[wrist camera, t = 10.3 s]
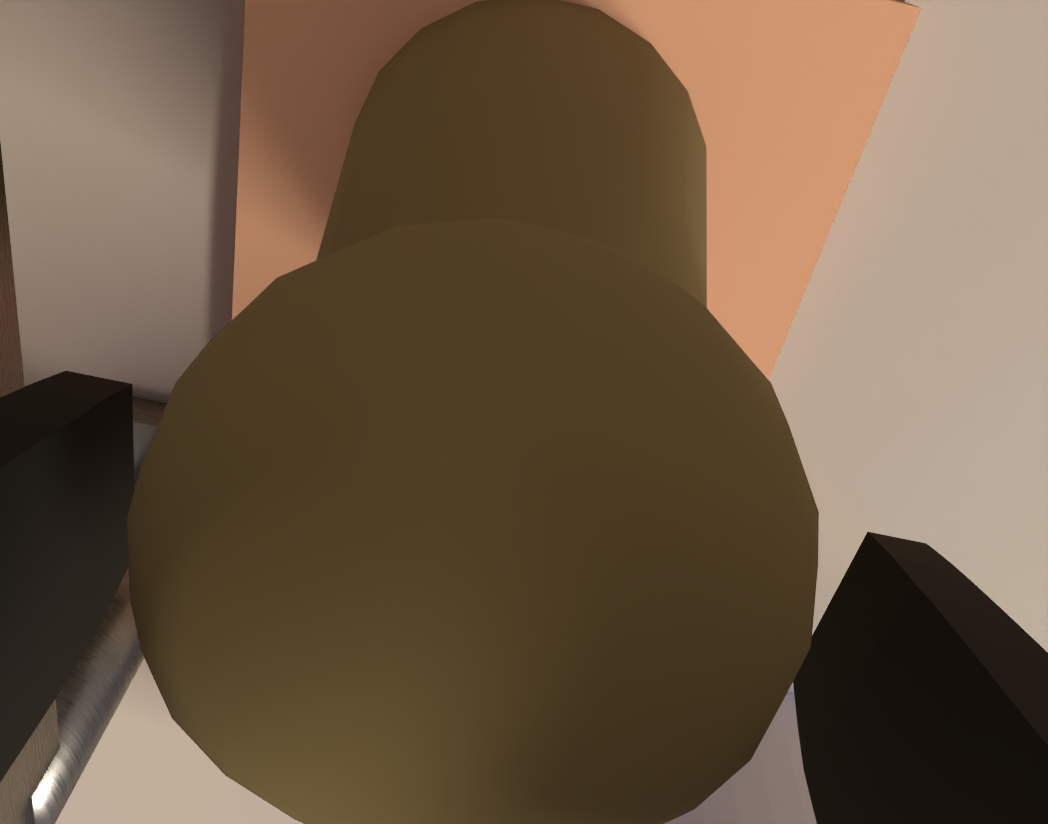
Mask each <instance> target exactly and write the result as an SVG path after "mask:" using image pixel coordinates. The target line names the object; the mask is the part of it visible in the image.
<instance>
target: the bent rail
mask: <svg viewBox="0 0 1048 824" xmlns="http://www.w3.org/2000/svg"><path fill="white" fill-rule="evenodd" d="M23 387H24V376H23V366H22V356H21V346H20V336H19V326H18V316H17V306H16V296H15V286H14V275H13V265H12V255H11V245H10V235H9V225H8V215H7V205H6V195H5V184H4V174H3V164H2V154H1V144H0V397H2V396H5V395H7V394H9V393H12V392H14V391H16V390H19V389H21V388H23ZM132 400H133V443H134V485H135V486H136V482H137V478H138V474H139V471H140V467H141V464H142V461H143V459H144V457H145V454H146V452H147V450H148V447H149V445H150V443H151V440H152V438H153V436H154V433H155V431H156V429H157V426H158V424H159V422H160V419H161V417H162V415H163V412H164V410H165V407H166V405H167V404H162V403H157V402H152V401H147V400H142V399H137V398H132ZM143 659H144V655H143V653H142V651H141V647H140V643H139V638H138V634H137V629H136V625H135V620H134V616H133V612H132V607H131V603H130V593H129V566H128V569H127V571H126V573H125V575H124V577H123V579H122V581H121V584H120V586H119V588H118V590H117V592H116V594H115V596H114V599H113V601H112V603H111V605H110V607H109V609H108V611H107V613H106V615H105V617H104V619H103V621H102V623H101V625H100V627H99V629H98V631H97V633H96V635H95V637H94V639H93V641H92V642H91V644H90V646H89V647H88V649H87V650H86V652H85V653H84V655H83V657H82V658H81V660H80V661H79V663H78V665H77V666H76V668H75V669H74V671H73V672H72V674H71V675H70V677H69V678H68V680H67V681H66V683H65V685H64V686H63V688H62V689H61V691H60V692H59V694H58V695H57V697H56V698H55V700H54V702H53V703H52V705H51V706H50V708H49V709H48V711H47V712H46V714H45V715H44V717H43V718H42V720H41V722H40V723H39V725H38V726H37V728H36V729H35V731H34V732H33V734H32V735H31V737H30V738H29V740H28V741H27V743H26V744H25V746H24V747H23V749H22V750H21V752H20V753H19V755H18V756H17V758H16V759H15V761H14V763H13V764H12V766H11V767H10V769H9V770H8V772H7V773H6V775H5V776H4V778H3V779H2V781H1V782H0V824H55V822H56V820H57V819H58V817H59V815H60V813H61V811H62V809H63V807H64V806H65V804H66V802H67V800H68V798H69V796H70V794H71V793H72V791H73V789H74V787H75V785H76V783H77V781H78V780H79V778H80V776H81V774H82V772H83V770H84V768H85V767H86V765H87V763H88V761H89V759H90V757H91V755H92V754H93V752H94V750H95V748H96V746H97V744H98V742H99V741H100V739H101V737H102V735H103V733H104V731H105V729H106V728H107V726H108V724H109V722H110V720H111V718H112V716H113V715H114V713H115V711H116V709H117V707H118V705H119V703H120V702H121V700H122V698H123V696H124V694H125V692H126V690H127V689H128V687H129V685H130V683H131V681H132V679H133V677H134V676H135V674H136V672H137V670H138V668H139V666H140V664H141V663H142V661H143Z"/></svg>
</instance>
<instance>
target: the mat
mask: <svg viewBox="0 0 1048 824" xmlns="http://www.w3.org/2000/svg"><path fill="white" fill-rule="evenodd" d="M476 1H485V0H245V18H244V42H243V65H242V89H241V113H240V137H239V161H238V185H237V208H236V232H235V256H234V280H233V304H232V320H233V319H234V318H235V317H236V316H237V315H238V314H239V313H240V312H241V311H242V310H243V309H244V308H246V307H247V306H248V305H249V304H250V303H251V302H252V301H253V300H254V299H255V298H256V297H257V296H258V295H259V294H260V293H261V292H262V291H263V290H264V289H265V288H266V287H268V286H269V285H270V284H271V283H272V282H273V281H274V280H275V279H276V278H277V277H280V276H282V275H284V274H286V273H289V272H291V271H293V270H296V269H298V268H300V267H302V266H305V265H307V264H309V263H312V262H314V261H316V259H317V256H318V252H319V248H320V245H321V241H322V238H323V234H324V231H325V227H326V224H327V220H328V216H329V213H330V209H331V206H332V202H333V199H334V195H335V191H336V188H337V184H338V181H339V177H340V174H341V170H342V167H343V163H344V159H345V156H346V152H347V149H348V145H349V142H350V138H351V134H352V131H353V127H354V124H355V122H356V119H357V117H358V115H359V113H360V111H361V109H362V107H363V104H364V102H365V100H366V98H367V96H368V94H369V92H370V89H371V87H372V85H373V83H374V81H375V79H376V77H377V74H378V72H379V71H380V70H381V69H382V68H383V67H384V66H385V65H386V64H387V63H388V61H389V60H390V59H391V58H392V57H393V56H394V55H395V54H396V53H397V52H398V51H399V50H400V49H401V48H402V47H403V46H404V45H405V44H406V43H407V42H408V41H409V40H410V39H411V38H412V37H413V36H414V35H415V34H416V33H417V32H418V31H419V30H420V29H421V28H423V27H425V26H427V25H429V24H431V23H433V22H435V21H437V20H439V19H441V18H443V17H445V16H447V15H449V14H451V13H453V12H455V11H458V10H460V9H462V8H464V7H466V6H468V5H470V4H472V3H474V2H476ZM562 1H566V2H570V3H574V4H579V5H583V6H587V7H591V8H595V9H599V10H601V11H602V12H604V13H605V14H607V15H608V16H610V17H611V18H613V19H614V20H616V21H617V22H619V23H621V24H622V25H624V26H625V27H627V28H628V29H630V30H631V31H633V32H634V33H636V34H637V35H639V36H641V37H642V38H644V39H645V40H647V41H648V42H650V43H651V44H652V45H653V47H654V48H655V49H656V51H657V52H658V53H659V54H660V56H661V57H662V58H663V60H664V61H665V62H666V64H667V65H668V66H669V67H670V69H671V70H672V71H673V73H674V74H675V75H676V76H677V78H678V79H679V80H680V82H681V83H682V84H683V86H684V87H685V88H686V89H687V91H688V93H689V96H690V99H691V102H692V105H693V108H694V111H695V114H696V117H697V120H698V123H699V126H700V129H701V132H702V135H703V138H704V141H705V144H706V174H707V309H708V310H709V311H710V313H711V314H712V315H713V316H714V317H715V318H716V319H717V321H718V322H719V323H720V324H721V325H722V326H723V328H724V329H725V330H726V331H727V332H728V333H729V335H730V336H731V337H732V338H733V339H734V340H735V342H736V343H737V344H738V345H739V346H740V347H741V349H742V350H743V351H744V352H745V353H746V354H747V356H748V357H749V358H750V359H751V360H752V361H753V363H754V364H755V365H756V366H757V367H758V368H759V370H760V371H761V372H762V373H763V374H764V375H765V377H766V378H767V379H768V380H769V377H770V375H771V372H772V370H773V367H774V365H775V362H776V360H777V358H778V355H779V353H780V350H781V348H782V345H783V343H784V341H785V338H786V336H787V333H788V331H789V328H790V326H791V324H792V321H793V319H794V316H795V314H796V311H797V309H798V307H799V304H800V302H801V299H802V297H803V294H804V292H805V290H806V287H807V285H808V282H809V280H810V277H811V275H812V273H813V270H814V268H815V265H816V263H817V260H818V258H819V256H820V253H821V251H822V248H823V246H824V243H825V241H826V239H827V236H828V234H829V231H830V229H831V226H832V224H833V222H834V219H835V217H836V214H837V212H838V209H839V207H840V205H841V202H842V200H843V197H844V195H845V192H846V190H847V188H848V185H849V183H850V180H851V178H852V175H853V173H854V171H855V168H856V166H857V163H858V161H859V158H860V156H861V154H862V151H863V149H864V146H865V144H866V141H867V139H868V137H869V134H870V132H871V129H872V127H873V124H874V122H875V120H876V117H877V115H878V112H879V110H880V107H881V105H882V103H883V100H884V98H885V95H886V93H887V90H888V88H889V86H890V83H891V81H892V78H893V76H894V73H895V71H896V69H897V66H898V64H899V61H900V59H901V56H902V54H903V52H904V49H905V47H906V44H907V42H908V39H909V37H910V35H911V32H912V30H913V27H914V25H915V22H916V20H917V18H918V15H919V13H920V10H921V8H920V7H917V6H915V5H912V4H910V3H907V2H903V1H898V0H562Z"/></svg>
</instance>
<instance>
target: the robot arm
mask: <svg viewBox="0 0 1048 824" xmlns="http://www.w3.org/2000/svg"><path fill="white" fill-rule="evenodd" d="M134 490H135V485H134V443H133V400H132V384H129V383H124V382H119V381H114V380H109V379H104V378H99V377H94V376H89V375H84V374H79V373H74V372H69V371H65V372H62V373H59V374H57V375H54V376H51V377H48V378H46V379H43V380H40V381H38V382H35V383H33V384H31V385H28V386H26V387H23V388H21V389H19V390H16V391H14V392H12V393H9V394H7V395H5V396H2V397H0V782H1V781H2V779H3V778H4V776H5V775H6V773H7V772H8V770H9V769H10V767H11V766H12V764H13V763H14V761H15V759H16V758H17V756H18V755H19V753H20V752H21V750H22V749H23V747H24V746H25V744H26V743H27V741H28V740H29V738H30V737H31V735H32V734H33V732H34V731H35V729H36V728H37V726H38V725H39V723H40V722H41V720H42V718H43V717H44V715H45V714H46V712H47V711H48V709H49V708H50V706H51V705H52V703H53V702H54V700H55V698H56V697H57V695H58V694H59V692H60V691H61V689H62V688H63V686H64V685H65V683H66V681H67V680H68V678H69V677H70V675H71V674H72V672H73V671H74V669H75V668H76V666H77V665H78V663H79V661H80V660H81V658H82V657H83V655H84V653H85V652H86V650H87V649H88V647H89V646H90V644H91V642H92V641H93V639H94V637H95V635H96V633H97V631H98V629H99V627H100V625H101V623H102V621H103V619H104V617H105V615H106V613H107V611H108V609H109V607H110V605H111V603H112V601H113V599H114V596H115V594H116V592H117V590H118V588H119V586H120V584H121V581H122V579H123V577H124V575H125V573H126V571H127V569H128V566H129V559H128V525H127V516H128V513H129V509H130V505H131V501H132V497H133V493H134ZM665 824H1048V653H1047V652H1046V651H1045V650H1044V649H1043V648H1042V647H1041V646H1040V645H1039V644H1038V643H1037V642H1036V641H1035V640H1034V639H1033V638H1032V637H1031V636H1029V635H1028V634H1027V633H1026V632H1025V631H1024V630H1023V629H1022V628H1021V627H1020V626H1019V625H1018V624H1017V623H1016V622H1015V621H1014V620H1013V619H1011V618H1010V617H1009V616H1008V615H1007V614H1006V613H1005V612H1004V611H1003V610H1002V609H1001V608H1000V607H999V606H998V605H997V604H995V603H994V602H993V601H992V600H991V599H990V598H989V597H988V596H987V595H986V594H985V593H983V592H982V591H981V590H980V589H979V588H978V587H977V586H976V585H975V584H974V583H973V582H972V581H970V580H969V579H968V578H967V577H966V576H965V575H964V574H963V573H961V572H960V571H959V570H958V569H957V568H956V567H955V566H953V565H952V564H951V563H950V562H949V561H947V560H946V559H945V558H944V557H943V556H941V555H940V554H939V553H938V552H936V551H935V550H934V549H933V548H931V547H930V546H929V545H927V544H926V543H921V542H916V541H911V540H906V539H901V538H896V537H891V536H886V535H881V534H876V533H871V532H867V534H866V536H865V538H864V540H863V542H862V544H861V545H860V547H859V549H858V551H857V553H856V555H855V557H854V559H853V560H852V562H851V564H850V566H849V568H848V570H847V572H846V574H845V575H844V577H843V579H842V581H841V583H840V585H839V587H838V589H837V590H836V592H835V594H834V596H833V598H832V600H831V602H830V604H829V605H828V607H827V609H826V611H825V613H824V615H823V617H822V619H821V620H820V622H819V624H818V626H817V628H816V630H815V632H814V633H813V635H812V638H811V648H810V650H809V652H808V654H807V656H806V657H805V659H804V661H803V663H802V665H801V667H800V669H799V671H798V673H797V675H796V677H795V679H794V681H793V683H792V685H791V687H790V688H789V690H788V692H787V694H786V696H785V698H784V700H783V702H782V704H781V705H780V707H779V709H778V711H777V713H776V715H775V716H774V718H773V720H772V722H771V724H770V726H769V728H768V729H767V731H766V733H765V735H764V737H763V739H762V740H761V742H760V744H759V746H758V748H757V750H756V751H755V753H754V755H753V757H752V759H751V760H750V761H749V762H748V763H747V764H746V765H745V766H744V767H742V768H741V769H740V770H739V771H738V772H737V773H736V774H734V775H733V776H732V777H731V778H730V779H729V780H728V781H726V782H725V783H724V784H723V785H722V786H721V787H720V788H718V789H717V790H716V791H715V792H714V793H713V794H712V795H710V796H709V797H708V798H707V799H706V800H705V801H704V802H702V803H701V804H700V805H699V806H698V807H697V808H696V809H694V810H692V811H690V812H688V813H686V814H684V815H682V816H680V817H678V818H676V819H673V820H671V821H669V822H667V823H665Z"/></svg>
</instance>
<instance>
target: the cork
mask: <svg viewBox="0 0 1048 824" xmlns="http://www.w3.org/2000/svg"><path fill="white" fill-rule="evenodd" d="M818 516H819V512H818V509H817V506H816V503H815V501H814V498H813V495H812V492H811V489H810V486H809V483H808V480H807V477H806V474H805V471H804V469H803V466H802V463H801V460H800V457H799V454H798V451H797V448H796V445H795V442H794V439H793V437H792V434H791V431H790V428H789V425H788V422H787V420H786V418H785V415H784V413H783V411H782V408H781V406H780V404H779V401H778V399H777V396H776V394H775V392H774V389H773V387H772V385H771V382H770V381H769V380H768V379H767V378H766V377H765V375H764V374H763V373H762V372H761V371H760V370H759V368H758V367H757V366H756V365H755V364H754V363H753V361H752V360H751V359H750V358H749V357H748V356H747V354H746V353H745V352H744V351H743V350H742V349H741V347H740V346H739V345H738V344H737V343H736V342H735V340H734V339H733V338H732V337H731V336H730V335H729V333H728V332H727V331H726V330H725V329H724V328H723V326H722V325H721V324H720V323H719V322H718V321H717V319H716V318H715V317H714V316H713V315H712V314H711V313H710V311H709V310H708V309H707V174H706V144H705V141H704V138H703V135H702V132H701V129H700V126H699V123H698V120H697V117H696V114H695V111H694V108H693V105H692V102H691V99H690V96H689V93H688V91H687V89H686V88H685V87H684V86H683V84H682V83H681V82H680V80H679V79H678V78H677V76H676V75H675V74H674V73H673V71H672V70H671V69H670V67H669V66H668V65H667V64H666V62H665V61H664V60H663V58H662V57H661V56H660V54H659V53H658V52H657V51H656V49H655V48H654V47H653V45H652V44H651V43H650V42H648V41H647V40H645V39H644V38H642V37H641V36H639V35H637V34H636V33H634V32H633V31H631V30H630V29H628V28H627V27H625V26H624V25H622V24H621V23H619V22H617V21H616V20H614V19H613V18H611V17H610V16H608V15H607V14H605V13H604V12H602V11H601V10H599V9H595V8H591V7H587V6H583V5H579V4H574V3H570V2H566V1H562V0H485V1H476V2H474V3H472V4H470V5H468V6H466V7H464V8H462V9H460V10H458V11H455V12H453V13H451V14H449V15H447V16H445V17H443V18H441V19H439V20H437V21H435V22H433V23H431V24H429V25H427V26H425V27H423V28H421V29H420V30H419V31H418V32H417V33H416V34H415V35H414V36H413V37H412V38H411V39H410V40H409V41H408V42H407V43H406V44H405V45H404V46H403V47H402V48H401V49H400V50H399V51H398V52H397V53H396V54H395V55H394V56H393V57H392V58H391V59H390V60H389V61H388V63H387V64H386V65H385V66H384V67H383V68H382V69H381V70H380V71H379V72H378V74H377V77H376V79H375V81H374V83H373V85H372V87H371V89H370V92H369V94H368V96H367V98H366V100H365V102H364V104H363V107H362V109H361V111H360V113H359V115H358V117H357V119H356V122H355V124H354V127H353V131H352V134H351V138H350V142H349V145H348V149H347V152H346V156H345V159H344V163H343V167H342V170H341V174H340V177H339V181H338V184H337V188H336V191H335V195H334V199H333V202H332V206H331V209H330V213H329V216H328V220H327V224H326V227H325V231H324V234H323V238H322V241H321V245H320V248H319V252H318V256H317V259H316V261H314V262H312V263H309V264H307V265H305V266H302V267H300V268H298V269H296V270H293V271H291V272H289V273H286V274H284V275H282V276H280V277H277V278H276V279H275V280H274V281H273V282H272V283H271V284H270V285H269V286H268V287H266V288H265V289H264V290H263V291H262V292H261V293H260V294H259V295H258V296H257V297H256V298H255V299H254V300H253V301H252V302H251V303H250V304H249V305H248V306H247V307H246V308H244V309H243V310H242V311H241V312H240V313H239V314H238V315H237V316H236V317H235V318H234V319H233V320H232V321H231V322H230V323H229V324H228V325H227V326H226V327H225V328H224V329H223V330H221V331H220V332H219V333H218V334H217V335H216V336H215V337H214V338H213V339H212V340H211V341H210V342H209V343H208V344H207V345H206V346H205V347H204V349H203V350H202V351H201V352H200V354H199V355H198V356H197V357H196V359H195V360H194V361H193V362H192V364H191V365H190V366H189V367H188V368H187V370H186V371H185V372H184V373H183V375H182V376H181V377H180V378H179V380H178V381H177V382H176V384H175V386H174V389H173V391H172V393H171V396H170V398H169V400H168V403H167V405H166V407H165V410H164V412H163V415H162V417H161V419H160V422H159V424H158V426H157V429H156V431H155V433H154V436H153V438H152V440H151V443H150V445H149V447H148V450H147V452H146V454H145V457H144V459H143V461H142V464H141V467H140V471H139V474H138V478H137V482H136V486H135V490H134V493H133V497H132V501H131V505H130V509H129V513H128V516H127V525H128V559H129V593H130V603H131V607H132V612H133V616H134V620H135V625H136V629H137V634H138V638H139V643H140V647H141V651H142V653H143V655H144V658H145V660H146V662H147V664H148V666H149V669H150V671H151V673H152V675H153V677H154V679H155V682H156V684H157V686H158V688H159V690H160V693H161V695H162V697H163V699H164V701H165V704H166V706H167V708H168V710H169V712H170V715H171V717H172V719H173V720H174V721H175V722H176V723H177V724H178V725H179V726H180V727H181V728H182V729H183V730H184V731H185V733H186V734H187V735H188V736H189V737H190V738H191V739H192V740H193V741H194V742H195V743H196V744H197V745H198V746H199V748H200V749H201V750H202V751H203V752H204V753H205V754H206V755H207V756H208V757H209V758H210V759H211V760H212V761H213V763H214V764H215V765H216V766H217V767H218V768H219V769H220V770H221V771H222V772H223V773H224V774H225V775H226V776H227V777H229V778H230V779H232V780H234V781H235V782H237V783H238V784H240V785H241V786H243V787H245V788H246V789H248V790H249V791H251V792H252V793H254V794H256V795H257V796H259V797H260V798H262V799H263V800H265V801H267V802H268V803H270V804H271V805H273V806H274V807H276V808H278V809H279V810H281V811H282V812H284V813H285V814H287V815H289V816H290V817H292V818H293V819H295V820H297V821H300V822H302V823H304V824H665V823H667V822H669V821H671V820H673V819H676V818H678V817H680V816H682V815H684V814H686V813H688V812H690V811H692V810H694V809H696V808H697V807H698V806H699V805H700V804H701V803H702V802H704V801H705V800H706V799H707V798H708V797H709V796H710V795H712V794H713V793H714V792H715V791H716V790H717V789H718V788H720V787H721V786H722V785H723V784H724V783H725V782H726V781H728V780H729V779H730V778H731V777H732V776H733V775H734V774H736V773H737V772H738V771H739V770H740V769H741V768H742V767H744V766H745V765H746V764H747V763H748V762H749V761H750V760H751V759H752V757H753V755H754V753H755V751H756V750H757V748H758V746H759V744H760V742H761V740H762V739H763V737H764V735H765V733H766V731H767V729H768V728H769V726H770V724H771V722H772V720H773V718H774V716H775V715H776V713H777V711H778V709H779V707H780V705H781V704H782V702H783V700H784V698H785V696H786V694H787V692H788V690H789V688H790V687H791V685H792V683H793V681H794V679H795V677H796V675H797V673H798V671H799V669H800V667H801V665H802V663H803V661H804V659H805V657H806V656H807V654H808V652H809V650H810V648H811V638H812V627H813V615H814V604H815V592H816V580H817V569H818Z"/></svg>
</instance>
